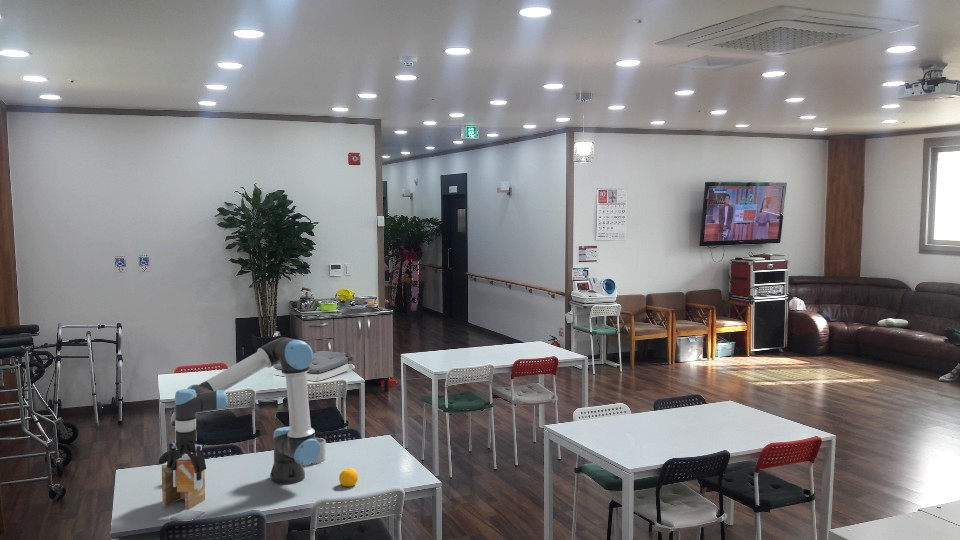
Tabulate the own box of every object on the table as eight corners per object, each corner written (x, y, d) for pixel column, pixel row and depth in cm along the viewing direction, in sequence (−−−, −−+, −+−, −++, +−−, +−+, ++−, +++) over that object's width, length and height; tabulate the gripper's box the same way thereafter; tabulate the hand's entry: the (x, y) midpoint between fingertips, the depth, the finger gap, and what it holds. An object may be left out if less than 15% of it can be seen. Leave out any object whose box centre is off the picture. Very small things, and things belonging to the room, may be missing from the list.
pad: (204, 513, 293) (204, 511, 293) (190, 522, 285) (190, 520, 285) (185, 510, 296) (184, 509, 296) (170, 519, 287) (170, 518, 287)
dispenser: (205, 499, 308) (204, 458, 306) (187, 510, 296) (186, 467, 295) (180, 497, 311) (179, 456, 309) (161, 507, 299) (160, 465, 298)
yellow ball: (351, 481, 331) (350, 464, 330) (361, 485, 325) (361, 468, 325) (335, 485, 325) (335, 468, 325) (346, 490, 319) (345, 472, 319)
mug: (327, 462, 356) (327, 441, 355) (309, 465, 352) (309, 444, 352) (321, 455, 367) (320, 435, 366) (303, 457, 363) (303, 437, 363)
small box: (176, 492, 289) (176, 459, 288) (182, 486, 295) (181, 454, 294) (197, 492, 289) (197, 459, 288) (203, 486, 295) (202, 454, 295)
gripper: (215, 429, 289) (216, 486, 290) (168, 425, 294) (169, 481, 296) (204, 434, 282) (204, 493, 283) (155, 430, 287) (156, 487, 288)
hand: (186, 487), depth 289 cm, fingers closed on small box, 9 cm apart
